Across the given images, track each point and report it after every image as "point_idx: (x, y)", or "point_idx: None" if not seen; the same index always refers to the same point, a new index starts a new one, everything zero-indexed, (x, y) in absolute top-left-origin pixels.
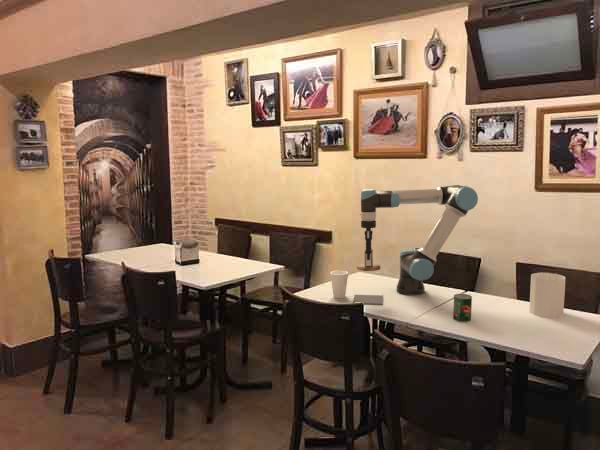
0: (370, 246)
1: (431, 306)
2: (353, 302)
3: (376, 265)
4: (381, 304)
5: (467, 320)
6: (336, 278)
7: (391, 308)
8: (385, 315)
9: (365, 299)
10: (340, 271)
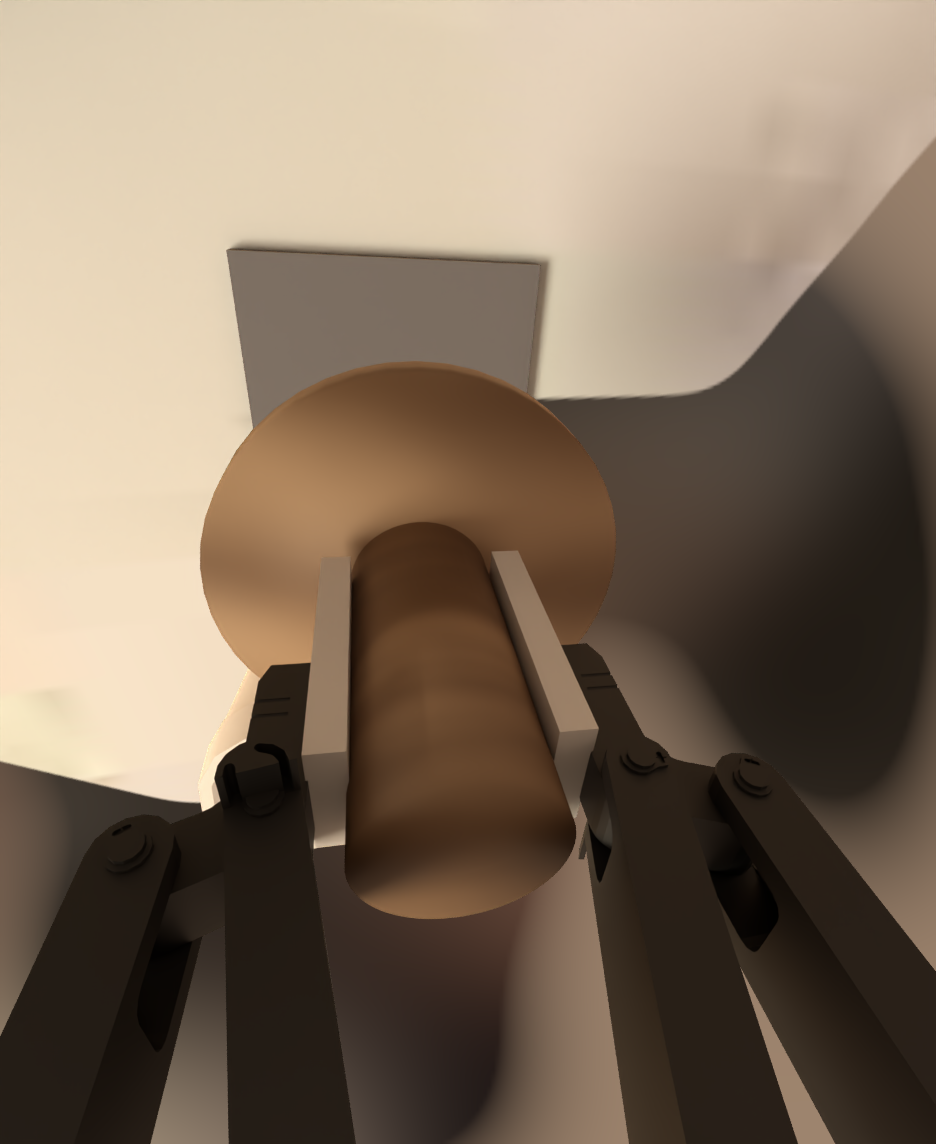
0: (919, 959)
1: None
2: None
3: (354, 455)
4: (537, 276)
5: None
6: None
7: (651, 168)
8: (831, 248)
9: None
10: (216, 792)
